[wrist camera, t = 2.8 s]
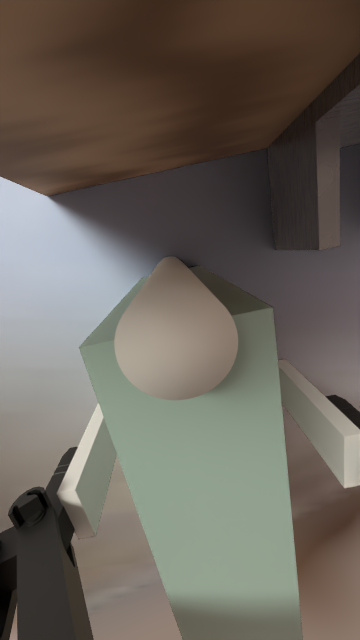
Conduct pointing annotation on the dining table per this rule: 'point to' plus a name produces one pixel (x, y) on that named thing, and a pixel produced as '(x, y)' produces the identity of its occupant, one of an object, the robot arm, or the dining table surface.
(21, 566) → the robot arm
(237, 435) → the door
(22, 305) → the dining table surface
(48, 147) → the cabinet
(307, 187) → the grey open frame
